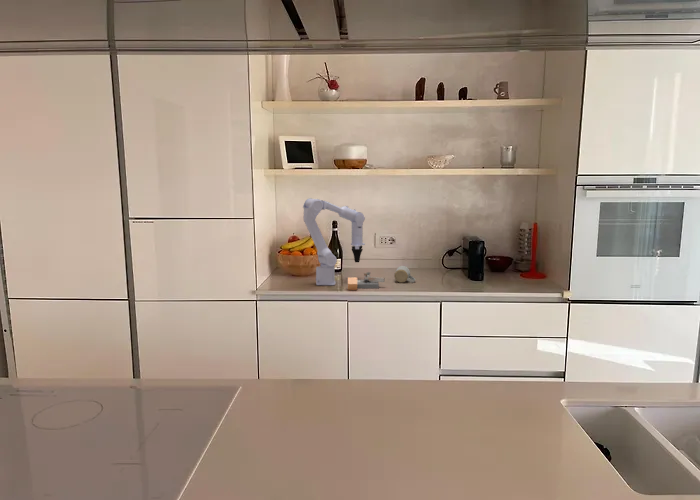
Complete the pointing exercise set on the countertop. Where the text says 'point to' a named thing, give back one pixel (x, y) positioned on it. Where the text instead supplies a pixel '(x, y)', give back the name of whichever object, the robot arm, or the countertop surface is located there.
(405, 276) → the ceramic mug
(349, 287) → the orange cube
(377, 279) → the lever handle
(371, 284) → the box
